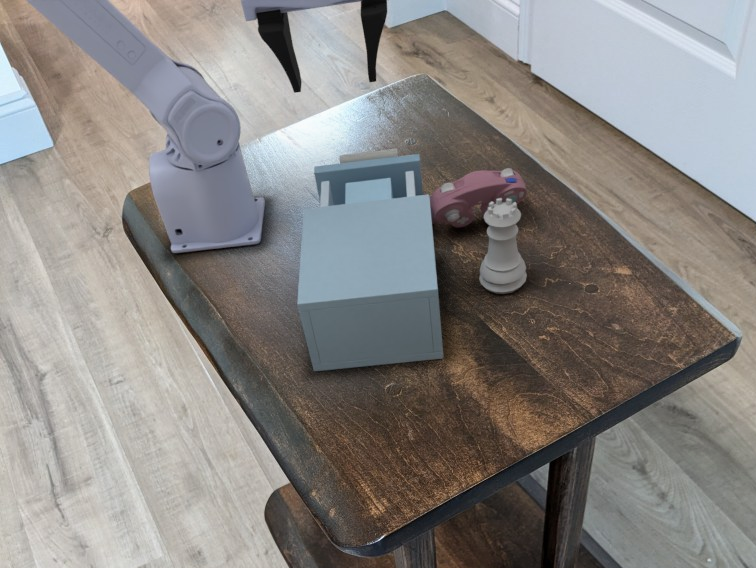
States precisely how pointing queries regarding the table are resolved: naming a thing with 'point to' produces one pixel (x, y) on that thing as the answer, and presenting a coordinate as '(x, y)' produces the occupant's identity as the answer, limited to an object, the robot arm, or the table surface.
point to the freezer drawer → (369, 174)
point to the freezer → (369, 284)
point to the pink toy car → (474, 195)
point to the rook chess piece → (502, 249)
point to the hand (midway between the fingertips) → (335, 82)
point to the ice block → (368, 191)
